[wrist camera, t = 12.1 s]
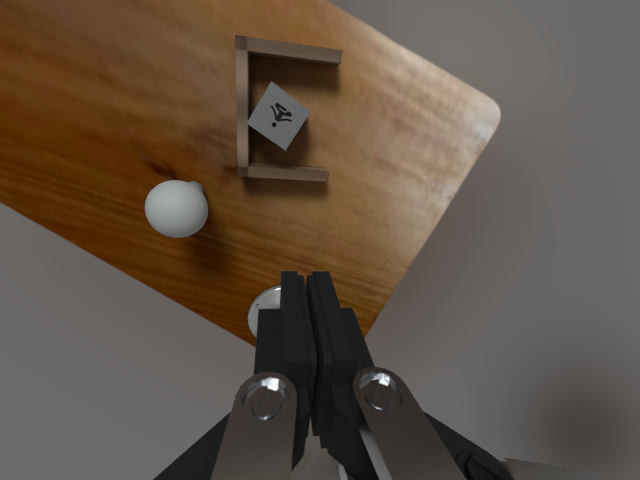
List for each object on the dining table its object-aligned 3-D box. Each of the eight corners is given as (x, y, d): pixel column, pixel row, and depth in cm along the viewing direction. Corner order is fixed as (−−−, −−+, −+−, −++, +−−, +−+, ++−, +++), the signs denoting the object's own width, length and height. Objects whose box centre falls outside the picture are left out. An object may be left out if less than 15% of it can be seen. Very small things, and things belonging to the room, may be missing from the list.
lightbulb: (183, 156, 37) (150, 176, 27) (228, 182, 39) (212, 210, 29) (162, 195, 38) (124, 228, 28) (206, 219, 40) (185, 257, 31)
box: (324, 176, 40) (327, 181, 38) (240, 170, 38) (238, 176, 36) (337, 54, 34) (342, 50, 32) (238, 40, 32) (235, 35, 30)
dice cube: (306, 110, 36) (310, 112, 32) (283, 144, 38) (285, 150, 33) (271, 83, 35) (271, 80, 30) (249, 120, 36) (246, 123, 32)
